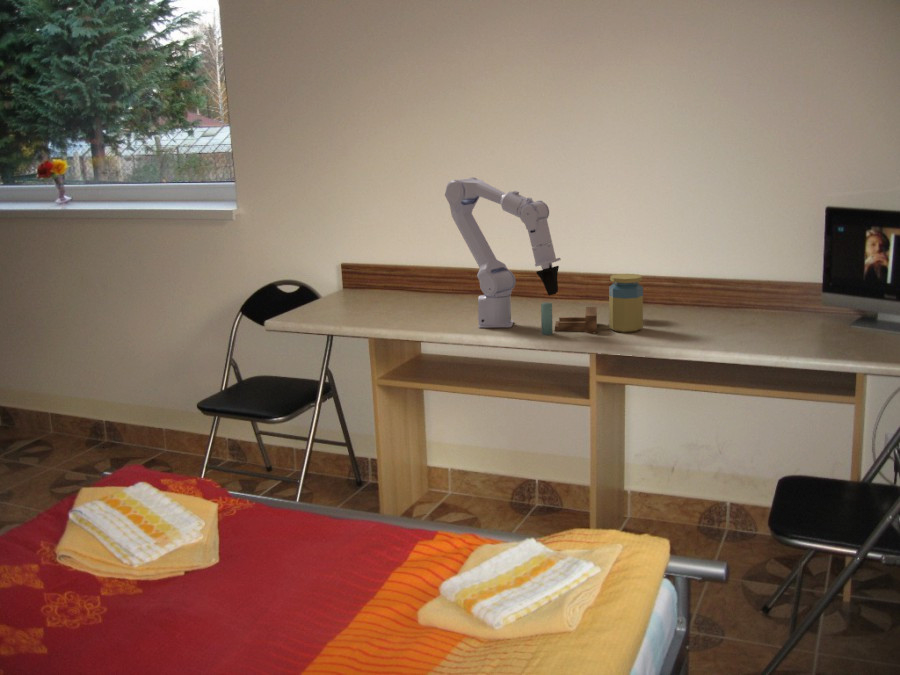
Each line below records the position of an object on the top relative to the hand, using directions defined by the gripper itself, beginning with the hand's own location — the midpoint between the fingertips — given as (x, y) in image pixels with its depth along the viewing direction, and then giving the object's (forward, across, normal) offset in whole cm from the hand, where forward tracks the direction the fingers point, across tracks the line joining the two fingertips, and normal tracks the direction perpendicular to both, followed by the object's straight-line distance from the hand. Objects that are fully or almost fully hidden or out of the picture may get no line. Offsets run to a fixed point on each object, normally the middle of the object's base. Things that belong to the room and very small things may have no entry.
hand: (553, 293), depth 255 cm
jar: (+15, +6, -17) cm, 23 cm away
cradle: (+11, +7, -3) cm, 14 cm away
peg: (+10, 0, +4) cm, 11 cm away
